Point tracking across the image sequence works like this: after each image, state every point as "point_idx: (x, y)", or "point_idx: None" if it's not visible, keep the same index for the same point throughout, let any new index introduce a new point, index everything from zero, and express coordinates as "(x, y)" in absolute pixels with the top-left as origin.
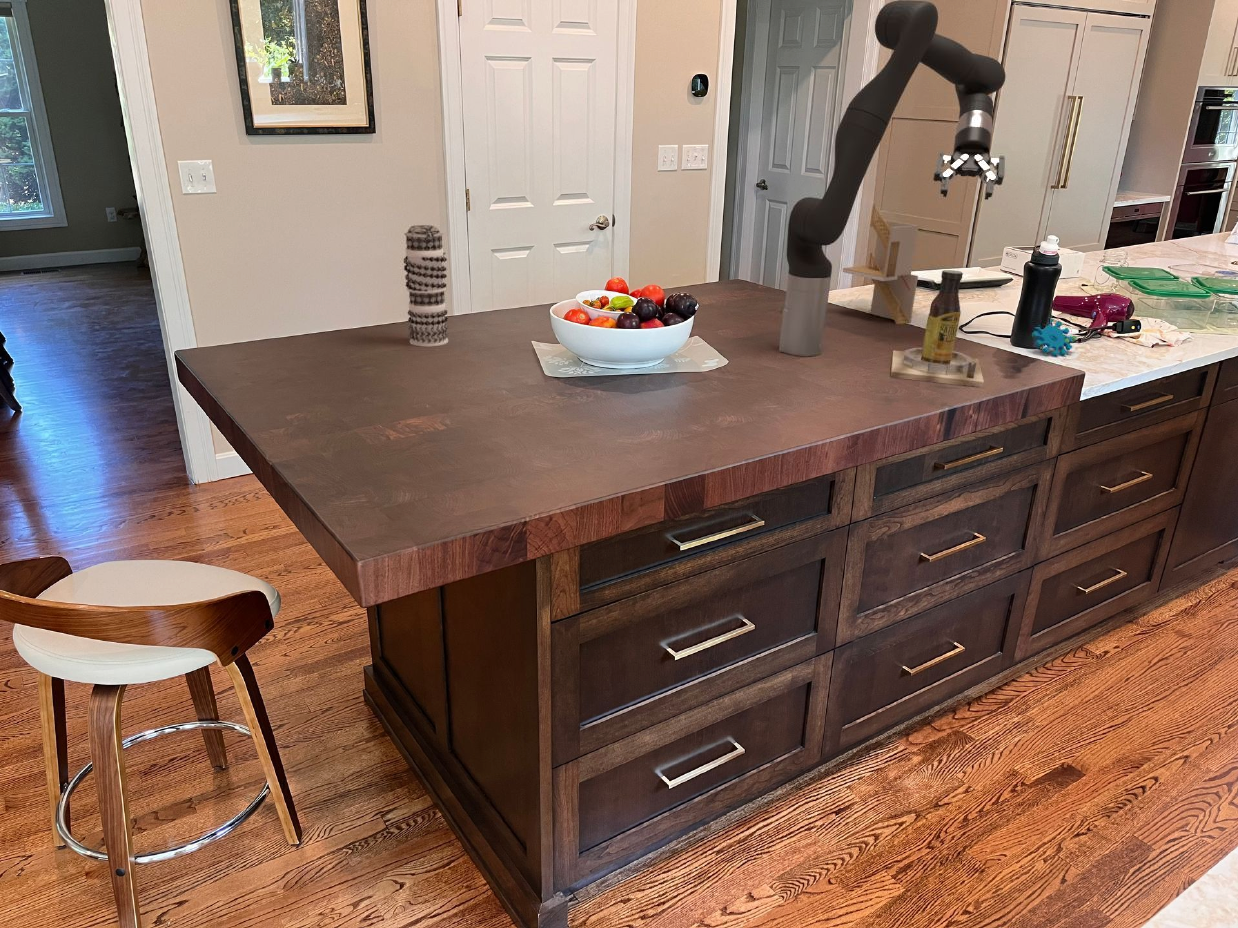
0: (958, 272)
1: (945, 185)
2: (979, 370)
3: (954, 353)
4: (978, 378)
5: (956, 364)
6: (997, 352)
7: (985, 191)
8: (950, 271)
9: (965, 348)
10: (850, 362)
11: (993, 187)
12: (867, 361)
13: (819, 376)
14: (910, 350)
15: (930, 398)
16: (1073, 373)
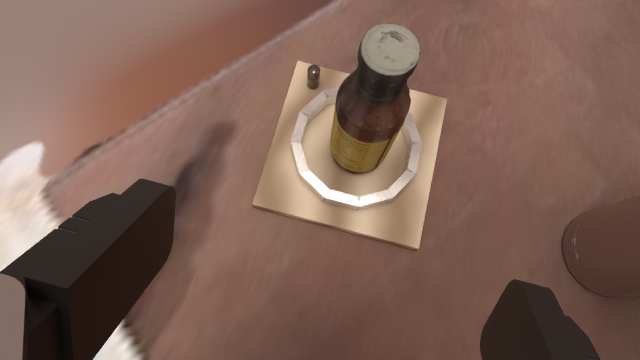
0: (377, 33)
1: (568, 327)
2: (279, 126)
3: (313, 174)
4: (300, 78)
5: (336, 91)
6: (162, 321)
7: (118, 321)
8: (398, 43)
9: (227, 347)
10: (506, 186)
11: (56, 232)
12: (472, 198)
13: (563, 94)
14: (403, 177)
15: (399, 9)
16: (73, 174)
